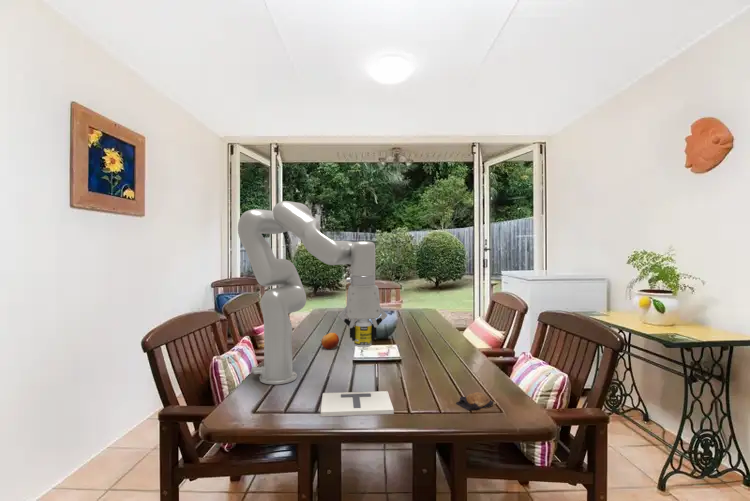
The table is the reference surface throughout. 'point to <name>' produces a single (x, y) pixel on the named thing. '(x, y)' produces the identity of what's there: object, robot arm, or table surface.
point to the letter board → (356, 403)
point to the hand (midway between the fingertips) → (363, 339)
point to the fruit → (330, 341)
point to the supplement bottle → (363, 333)
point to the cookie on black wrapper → (475, 402)
